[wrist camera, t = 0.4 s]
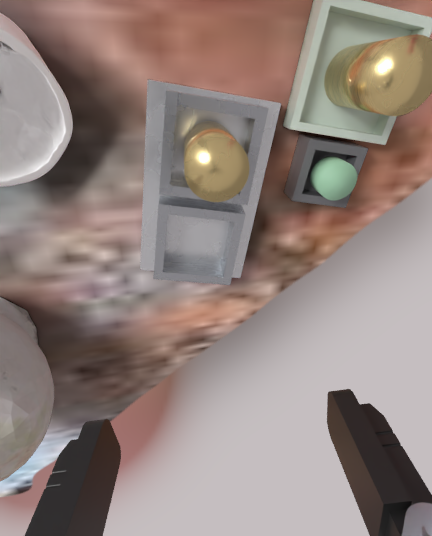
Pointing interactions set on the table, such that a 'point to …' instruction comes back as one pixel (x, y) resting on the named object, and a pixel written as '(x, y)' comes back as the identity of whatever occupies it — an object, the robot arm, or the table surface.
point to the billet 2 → (382, 75)
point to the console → (305, 160)
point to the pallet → (181, 196)
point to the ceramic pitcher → (21, 389)
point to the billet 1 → (214, 162)
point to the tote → (322, 52)
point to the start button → (333, 178)
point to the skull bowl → (28, 110)
